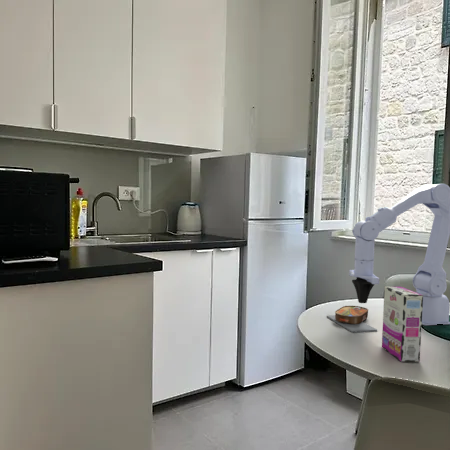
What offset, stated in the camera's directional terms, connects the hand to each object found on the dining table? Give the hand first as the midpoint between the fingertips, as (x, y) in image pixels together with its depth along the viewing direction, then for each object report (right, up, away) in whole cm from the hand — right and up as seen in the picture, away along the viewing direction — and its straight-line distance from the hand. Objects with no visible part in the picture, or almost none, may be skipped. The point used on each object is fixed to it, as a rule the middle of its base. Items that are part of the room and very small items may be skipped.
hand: (362, 302), depth 137 cm
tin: (+1, -5, +1) cm, 5 cm away
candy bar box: (+1, -8, -27) cm, 28 cm away
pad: (-4, -7, 0) cm, 8 cm away
